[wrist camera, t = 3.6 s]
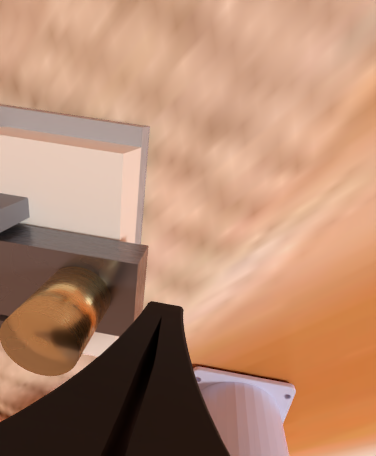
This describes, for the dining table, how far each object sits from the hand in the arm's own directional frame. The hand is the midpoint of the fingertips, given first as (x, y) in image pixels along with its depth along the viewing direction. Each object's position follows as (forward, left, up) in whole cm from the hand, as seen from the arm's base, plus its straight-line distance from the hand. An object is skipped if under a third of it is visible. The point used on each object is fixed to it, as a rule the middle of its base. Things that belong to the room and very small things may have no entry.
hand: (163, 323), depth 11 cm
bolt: (0, +6, -3) cm, 6 cm away
